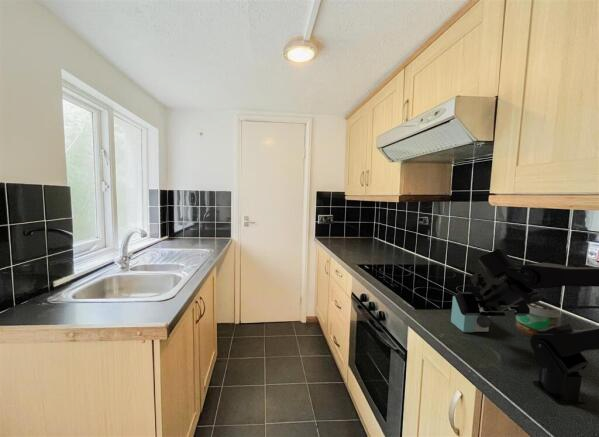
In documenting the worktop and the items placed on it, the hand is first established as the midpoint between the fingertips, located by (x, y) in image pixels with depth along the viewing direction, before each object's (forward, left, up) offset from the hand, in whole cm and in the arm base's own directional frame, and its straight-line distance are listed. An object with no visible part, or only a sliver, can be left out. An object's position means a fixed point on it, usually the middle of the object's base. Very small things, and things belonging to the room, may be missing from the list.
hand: (475, 313), depth 84 cm
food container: (+3, -20, -8) cm, 21 cm away
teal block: (+6, 0, -8) cm, 10 cm away
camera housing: (+10, -5, -8) cm, 13 cm away
